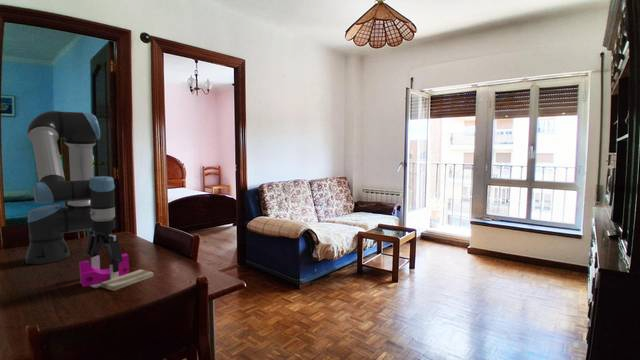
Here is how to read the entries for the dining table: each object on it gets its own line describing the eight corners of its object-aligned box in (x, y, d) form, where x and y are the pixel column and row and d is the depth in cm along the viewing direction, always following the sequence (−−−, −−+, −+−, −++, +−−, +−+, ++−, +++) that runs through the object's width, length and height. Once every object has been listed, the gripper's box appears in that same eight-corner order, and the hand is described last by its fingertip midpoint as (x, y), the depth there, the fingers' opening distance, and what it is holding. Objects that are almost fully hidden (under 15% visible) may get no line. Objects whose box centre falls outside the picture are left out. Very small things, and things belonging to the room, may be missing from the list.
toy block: (82, 287, 118) (81, 266, 117) (80, 282, 122) (79, 261, 122) (131, 276, 127) (130, 257, 127) (127, 272, 132) (126, 253, 131)
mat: (79, 282, 122) (79, 282, 122) (115, 271, 134) (115, 270, 134) (95, 288, 118) (95, 287, 117) (131, 275, 129) (131, 274, 129)
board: (100, 286, 119) (100, 282, 118) (140, 272, 132) (140, 269, 132) (113, 290, 115) (113, 286, 115) (153, 276, 128) (153, 272, 128)
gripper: (74, 216, 126) (76, 273, 128) (111, 225, 115) (113, 287, 117) (95, 213, 132) (97, 267, 135) (133, 221, 121) (134, 280, 124)
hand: (105, 276), depth 126 cm, fingers open, 11 cm apart
